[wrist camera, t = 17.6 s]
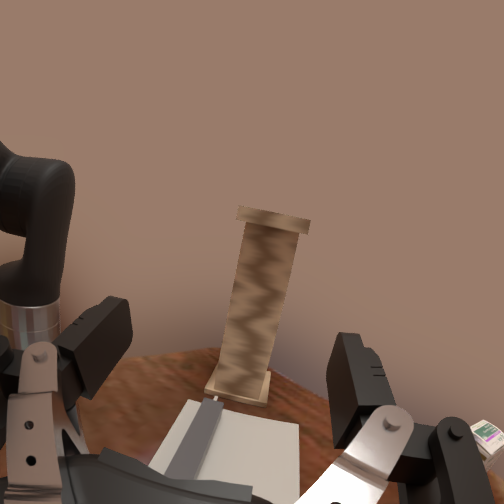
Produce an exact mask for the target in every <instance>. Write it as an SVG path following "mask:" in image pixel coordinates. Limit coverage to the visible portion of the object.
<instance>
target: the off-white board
mask: <svg viewBox="0 0 504 504" xmlns="http://www.w3.org/2000/svg"><path fill="white" fill-rule="evenodd" d="M200 405H201V403H199V402H196V401H193V400H190V399H188V401H187V403H186V404H185V406H184V408H183V409H182V411H181V413H180V414H179V416H178V418H177V419H176V421H175V423H174V424H173V426H172V428H171V429H170V431H169V433H168V434H167V436H166V438H165V439H164V441H163V443H162V444H161V446H160V448H159V449H158V451H157V452H156V454H155V456H154V457H153V459H152V461H151V462H150V464H149V466H148V467H150V468H152V469H153V470H155V471H157V472H159V473H161V474H162V475H164V473H165V471H166V469H167V468H168V466H169V464H170V462H171V460H172V458H173V456H174V455H175V453H176V451H177V449H178V447H179V445H180V443H181V442H182V440H183V438H184V436H185V434H186V432H187V430H188V428H189V426H190V424H191V423H192V421H193V419H194V417H195V415H196V413H197V411H198V409H199V407H200ZM197 480H217V481H222V482H228V483H235V484H242V485H249V486H253V490H252V494H253V495H256V496H258V497H261V498H263V499H265V500H268V501H270V502H271V503H273V504H295V503H296V502H297V501H298V500H299V428H298V424H293V423H286V422H281V421H275V420H270V419H265V418H260V417H255V416H250V415H246V414H241V413H237V412H233V411H229V410H225V409H223V411H222V415H221V419H220V421H219V424H218V427H217V429H216V432H215V434H214V437H213V440H212V442H211V445H210V447H209V450H208V452H207V455H206V457H205V460H204V462H203V465H202V467H201V470H200V472H199V475H198V477H197Z"/></svg>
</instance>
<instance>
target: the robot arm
mask: <svg viewBox="0 0 504 504" xmlns="http://www.w3.org/2000/svg"><path fill="white" fill-rule="evenodd" d="M74 196H75V177H74V173H73V170H72V168H71V166H70V165H69V164H67V163H66V162H64V161H61V160H56V159H45V158H33V157H23V156H19V155H16V154H14V153H13V152H11V151H10V150H9V149H8V148H7V147H6V146H5V145H3V143H2V142H1V141H0V230H1V231H3V232H6V233H9V234H13V235H17V236H21V237H26V242H25V248H24V254H23V258H22V259H21V260H18V261H13V262H9V263H6V264H3V265H1V266H0V450H1V448H2V447H3V445H4V444H5V442H6V456H7V474H8V476H6V477H3V478H0V504H273V503H271V502H270V501H268V500H265V499H263V498H261V497H258V496H256V495H253V494H252V490H253V486H249V485H242V484H235V483H228V482H222V481H217V480H183V479H171V478H168V477H166V476H164V475H162V474H161V473H159V472H157V471H155V470H153V469H152V468H150V467H148V466H147V465H145V464H143V463H142V462H140V461H138V460H137V459H134V458H131V457H128V456H126V455H123V454H120V453H118V452H115V451H113V450H110V449H108V448H105V447H104V448H103V450H102V452H101V454H100V455H98V454H90V453H89V451H88V449H87V446H86V443H85V439H84V434H83V429H82V423H81V417H80V410H79V404H78V402H77V399H78V398H79V396H82V397H85V398H87V399H89V400H92V398H93V397H94V395H95V394H96V392H97V391H98V390H99V388H100V387H101V385H102V384H103V382H104V381H105V380H106V378H107V377H108V375H109V374H110V373H111V371H112V370H113V368H114V367H115V366H116V364H117V363H118V361H119V360H120V359H121V357H122V356H123V355H124V353H125V352H126V350H127V349H128V348H129V346H130V344H131V342H132V337H133V330H132V324H131V317H130V309H129V303H128V301H127V300H126V299H122V298H118V297H113V296H108V297H107V298H106V299H104V300H103V302H101V303H100V304H99V305H96V306H93V307H91V308H89V309H87V310H86V311H84V312H83V313H82V314H81V315H80V316H79V318H77V319H76V320H75V321H74V322H73V323H72V324H70V325H69V326H68V327H67V328H66V329H65V330H64V331H63V332H62V333H61V334H60V283H61V278H62V273H63V268H64V260H65V251H66V243H67V237H68V231H69V225H70V220H71V215H72V209H73V203H74ZM382 367H383V366H382V363H381V361H380V358H379V356H378V355H377V354H376V353H375V352H374V351H373V350H372V349H371V348H365V347H364V346H363V343H362V340H361V337H360V335H359V334H355V333H343V332H339V333H338V335H337V337H336V341H335V344H334V347H333V350H332V353H331V357H330V360H329V362H328V366H327V372H326V381H327V388H328V397H329V405H330V414H331V423H332V433H333V443H334V449H345V451H344V452H343V454H342V455H341V456H339V457H338V458H337V459H336V460H335V461H334V462H333V464H332V465H331V466H330V467H329V468H328V469H327V471H326V472H325V473H324V474H323V475H322V476H321V477H320V478H319V479H318V481H317V482H316V483H315V484H314V485H313V486H312V487H311V488H310V489H309V490H308V491H307V492H306V493H305V494H304V495H303V496H302V497H301V498H300V499H299V500H298V501H297V502H296V503H295V504H376V503H377V501H378V500H379V498H380V497H381V495H382V494H383V492H384V490H385V489H386V487H387V485H388V482H389V481H391V482H397V484H398V492H399V501H400V504H495V501H494V497H493V494H492V490H491V486H490V483H489V479H488V476H487V473H486V470H485V467H484V464H483V461H482V458H481V455H480V452H479V449H478V446H477V444H476V441H475V438H474V436H473V433H472V431H471V428H470V427H469V425H468V424H467V423H466V422H465V421H463V420H462V419H460V418H457V417H446V418H444V419H443V420H441V421H440V422H439V424H438V425H437V426H436V427H434V426H428V425H422V424H417V423H414V422H413V419H412V417H411V416H410V415H409V413H408V412H406V411H405V410H404V409H402V408H400V407H397V406H396V403H395V400H394V397H393V394H392V391H391V388H390V386H389V383H388V380H387V377H385V375H386V374H385V372H384V369H382Z"/></svg>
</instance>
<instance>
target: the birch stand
mask: <svg viewBox="0 0 504 504" xmlns="http://www.w3.org/2000/svg"><path fill="white" fill-rule="evenodd" d="M236 219H237V220H240V221H246V225H245V229H244V234H243V240H242V244H241V249H240V255H239V259H238V265H237V269H236V275H235V279H234V285H233V290H232V295H231V300H230V306H229V310H228V316H227V321H226V326H225V331H224V337H223V341H222V347H221V352H220V357H219V362H218V364H217V366H216V367H215V369H214V371H213V373H212V375H211V377H210V379H209V381H208V383H207V385H206V387H205V389H204V393H207V394H210V395H214V396H218V397H221V398H225V399H229V400H233V401H237V402H241V403H246V404H250V405H255V406H259V407H264V408H266V405H267V399H268V391H269V383H270V376H271V372H269V371H267V367H268V363H269V360H270V356H271V352H272V348H273V344H274V340H275V337H276V333H277V329H278V325H279V320H280V316H281V312H282V308H283V304H284V300H285V295H286V291H287V287H288V282H289V278H290V274H291V269H292V265H293V260H294V255H295V251H296V247H297V241H298V237H299V233H303V234H308V230H309V226H310V220H307V219H302V218H298V217H293V216H289V215H284V214H279V213H274V212H269V211H265V210H260V209H255V208H250V207H244V206H239V208H238V213H237V218H236Z"/></svg>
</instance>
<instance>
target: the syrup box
mask: <svg viewBox="0 0 504 504" xmlns="http://www.w3.org/2000/svg"><path fill="white" fill-rule="evenodd" d="M470 428H471V431H472V433H473V436H474V438H475V441H476V444H477V446H478V449H479V452H480V455H481V458H482V461H483V464H484V467H485V470H486V473H487V472H488V470H489V469H490V468H491V466H492V465H493V464H494V462H495V461H496V460H497V458H498V457H499V456H500V454H501V453H502V452H503V450H504V433H503V432H502V431H501V430H499V429H498V428H497V427H495V426H494V425H492V424H491V423H489V422H487V421H485V420H482V421H480V422H478V423H477V424H474V425H473V426H471V427H470Z"/></svg>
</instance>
